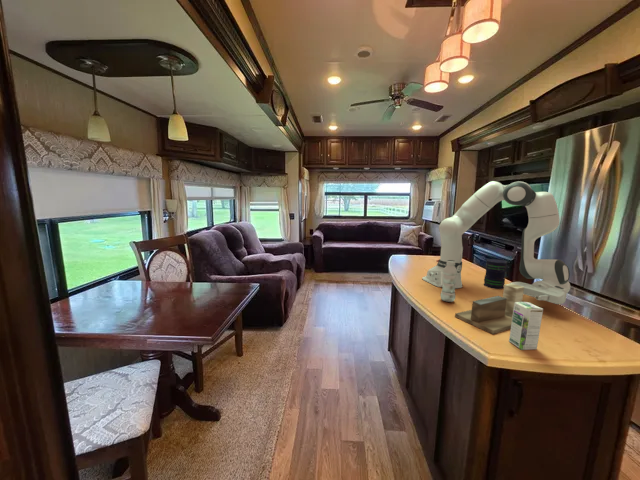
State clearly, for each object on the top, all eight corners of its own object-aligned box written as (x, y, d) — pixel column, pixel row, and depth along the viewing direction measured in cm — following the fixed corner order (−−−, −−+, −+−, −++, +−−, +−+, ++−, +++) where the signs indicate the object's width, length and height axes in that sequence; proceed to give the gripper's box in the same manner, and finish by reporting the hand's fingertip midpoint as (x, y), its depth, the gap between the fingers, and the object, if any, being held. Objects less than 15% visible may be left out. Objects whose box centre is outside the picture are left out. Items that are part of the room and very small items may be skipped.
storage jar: (479, 284, 158) (482, 259, 156) (491, 282, 161) (494, 258, 159) (495, 290, 149) (499, 263, 146) (508, 288, 152) (511, 262, 150)
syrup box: (508, 341, 95) (513, 301, 93) (523, 340, 95) (529, 301, 93) (521, 350, 89) (527, 308, 87) (538, 349, 90) (544, 308, 88)
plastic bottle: (456, 301, 132) (460, 260, 129) (452, 304, 127) (456, 263, 124) (442, 297, 136) (446, 258, 133) (438, 301, 131) (441, 260, 128)
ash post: (500, 313, 118) (504, 284, 116) (507, 311, 120) (511, 283, 118) (512, 318, 113) (516, 288, 111) (520, 316, 115) (524, 286, 113)
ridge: (454, 316, 114) (456, 296, 112) (483, 310, 121) (485, 290, 120) (492, 334, 100) (495, 311, 98) (522, 325, 107) (525, 303, 106)
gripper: (519, 277, 134) (502, 280, 128) (571, 290, 116) (553, 295, 110) (518, 289, 135) (500, 293, 129) (569, 304, 117) (551, 309, 111)
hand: (525, 294), depth 119 cm, fingers open, 8 cm apart
